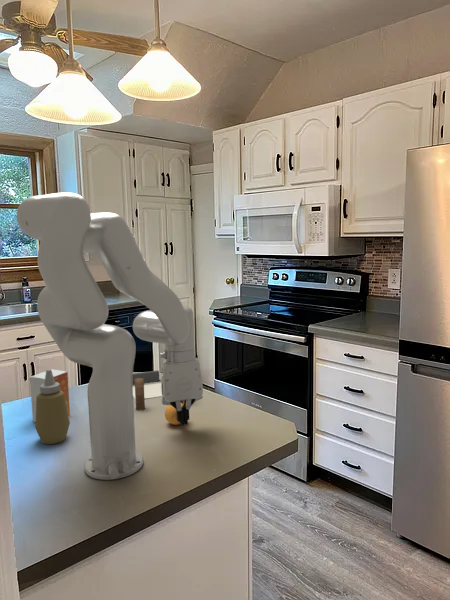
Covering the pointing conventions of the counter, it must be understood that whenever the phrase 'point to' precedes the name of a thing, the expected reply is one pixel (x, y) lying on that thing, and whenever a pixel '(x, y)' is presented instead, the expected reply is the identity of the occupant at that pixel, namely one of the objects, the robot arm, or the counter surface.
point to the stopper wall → (147, 376)
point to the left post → (139, 394)
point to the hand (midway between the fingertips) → (183, 422)
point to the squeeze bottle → (51, 412)
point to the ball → (171, 414)
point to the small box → (40, 379)
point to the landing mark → (151, 391)
